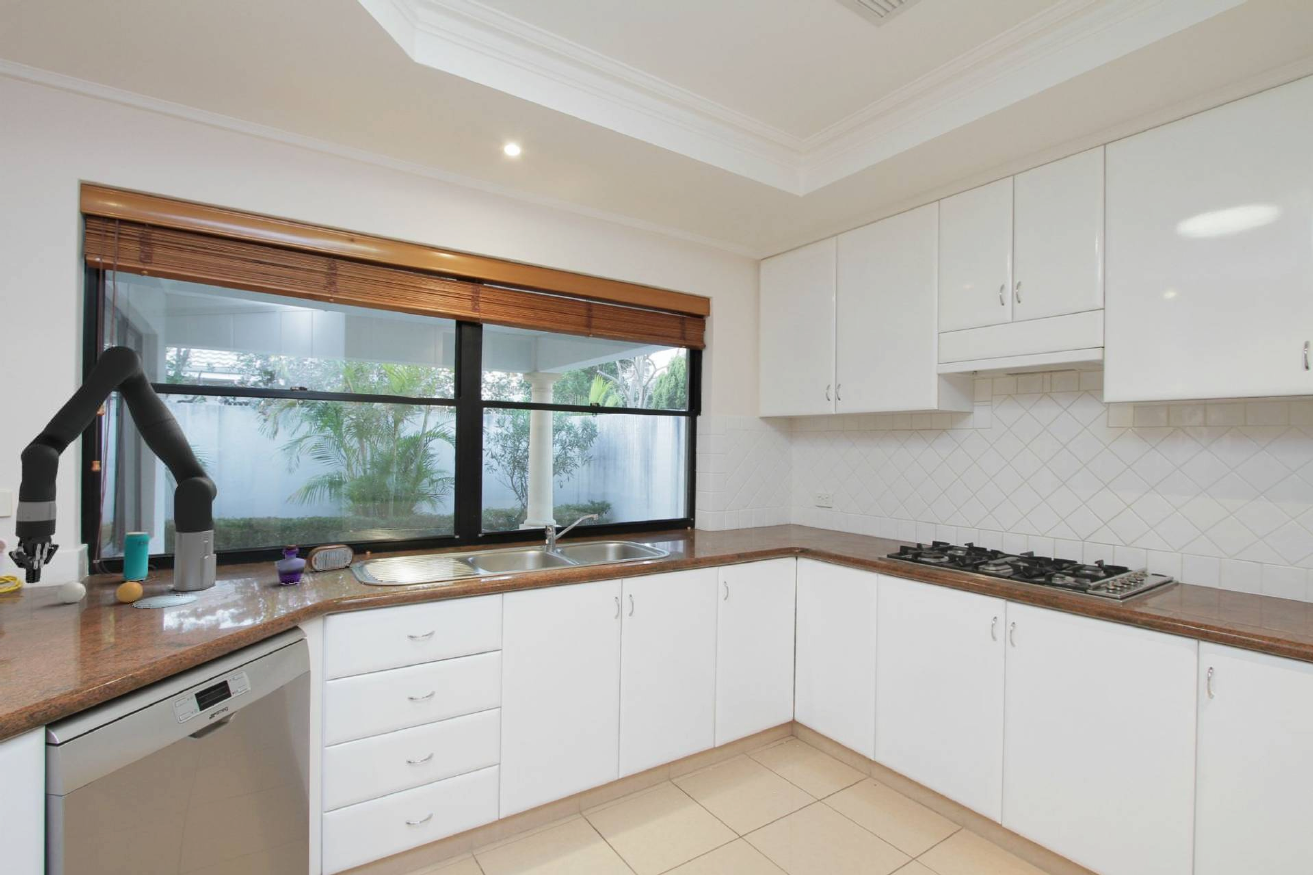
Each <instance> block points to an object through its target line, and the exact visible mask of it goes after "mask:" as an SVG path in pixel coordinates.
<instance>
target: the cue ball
mask: <svg viewBox="0 0 1313 875" xmlns="http://www.w3.org/2000/svg"><path fill="white" fill-rule="evenodd" d="M86 591H87V590H86V587H85V585H84V584H83V583H80V582H77V581H73V582H68V583H65V584H63V585H62V586H61V587H60V588H59V589H58V592H57V597H58V599H59V600H60V601H61V602H63V603H65V604H66V603H67V604H73V603H77V602H79V601H80V600H82V599H83V598H84V597H85V595H86V593H87V592H86Z"/></svg>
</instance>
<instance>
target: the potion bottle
mask: <svg viewBox="0 0 1313 875" xmlns="http://www.w3.org/2000/svg"><path fill="white" fill-rule="evenodd" d="M299 550H300V549H299V548H297V545H296V544H287V545H285V546H284V549H282V554H283V556H284V555H285V557H284V559H280V560H277V561H274V564H275V565H274V566H275V571H276V572H277V576H278V580H279V583H280V582H281V583H285V584H289V583H294V582H300V581H301V577H302V574H304V572H305V569H306V566H305V565H306V564H307V559H306V560H305V559H303V558H299V557H298V558H297V554H299Z"/></svg>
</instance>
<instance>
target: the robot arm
mask: <svg viewBox="0 0 1313 875" xmlns="http://www.w3.org/2000/svg"><path fill="white" fill-rule="evenodd" d="M142 361H143V360H142V359H141V356H140V355H139V353H137V351H135V350H134V349H132V348H130V347H128V346H123V345H114V346H110V347H108V348H106V349H104V350H103V351H102V353H100V356H99V358H98V360H97V361H96V363H95V365H94V367H93V368H92V370H91V372H90V373H89V374H88V376H87V378H86V379H85V380H84V382H83V383H82V384H81V386H80V387H79V388H78V389H77V390H76V391H75V393H74V394H73V395H72V396H71V397H70V398H69V399H68V400H67V401H66V403H65V404H64V405H63V406H62V407H61V408H59V410H58V411H57V413H56V414H54V416H53V417H52V418H51V419H50V421H48V423H47V424H46V426H45V427H44V428H43V429H42V431H41V432H40V433H38V435H36V437H34V439H33V440H32V441H30V443H29V444H28V445H27V446H26V447H25V448H24V449H23V450H22V452H21V454H20V461H21V482H20V485H19V489H18V491H19V492H18V502H17V503H18V504H17V508H16V517H15V518H16V519H15V532H14V533H15V536H16V537H17V538H19V540H18V542H17V548H15V550H13V551H12V550H11V551H9V552H8V556H9V557H10V559H11V560H12V561H13V562H14V565H15V566H16V567H17V568H18V569H23V570H25V579H24V580H25V583H27V584H35V583H36V584H37V583H39V582H41V581H40V580H41V575H42V574H41V573H42V568H43V567H44V566H45V565H48V564H50V562H51V561H52V559H53V557H54V555H55V554H56V552H57V551H58V550H59V547H60V545H59V544H56V543H53V542H52V541H53V539H52V536H53V535H55V534H56V524H57V504H56V502H57V483H56V482H57V477H58V473H59V472H58V471H59V470H58V469H59V462H60V457H61V455H62V454H63V453H64V452H65V451H66V449H67V448H68V447H69V446H70V444H72V443H73V442H74V441H75V440H77V439H78V438H79V437H80V435H81V434H82V433H84V431H85V430H86V429H87V427H88V426H89V425H90V424H91V423H92V421H93V419H94V418H95V417H96V416H97V414H98V412H99V411H100V409H101V408H102V406H103V405H104V403H105V402H106V400H107V399H108V397H109V396H110V395H111V394H112V393H113V391H114V390H115V389H117V390H118V392H119V393H120V394H121V396H122V398H123V400H124V401H125V403H126V405H127V409H128V410H129V415H130V416H131V418H132V420H133V423H134V425H135V426H136V429H137V431H138V433H139V434H140V435H141V437H142V439H143V441H144V442H145V444H146V446H147V447H148V448H149V450H151V452H152V453H153V454H154V455H155V456H156V457H157V458H158V459H159V460H160V461H161V462H162V463H163V464H164V465H165V466H166V467H167V468H168V470H169V471H170V473H171V475H172V476H173V478H174V480H175V482H176V484H177V486H176V488H175V490H174V493H173V521H174V522H173V523H174V525H175V537H174V538H175V541H174V568H173V569H174V570H173V590H174V591H180V592H181V591H182V592H184V591H185V592H186V591H187V592H188V591H196V590H206V589H208V588H211V587H214V586H215V585H216V579H217V578H216V576H217V575H216V573H217V554H216V553H214V538H215V537H214V534H215V532H214V530H215V521H214V519H213V502H214V500H216V498H217V497H216V496H217V494H218V489H217V485H216V483H215V482H214V481H213V480H212V478H211V477H210V475H208V473H207V472H206V471H205V469H204V468H203V466H202V465H201V464H200V462H199V461H198V459H197V458H196V456H195V455H196V454H194V451H193V449H192V448H191V445H190V442H189V441H188V439H187V437H186V436H185V434H184V431H183V429H182V428H181V426H180V424H179V423H178V421H177V419H176V418H175V416H174V415H173V413H172V411H171V410H170V409H169V408H168V406H167V405H166V404H165V402H164V401H163V400H162V398H160V396H159V395H158V394H157V393H156V392H155V390H154V388H153V386H152V385H151V383H150V380H149V378H148V376H147V372H146V370H145V369H144V366H143V362H142Z"/></svg>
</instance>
